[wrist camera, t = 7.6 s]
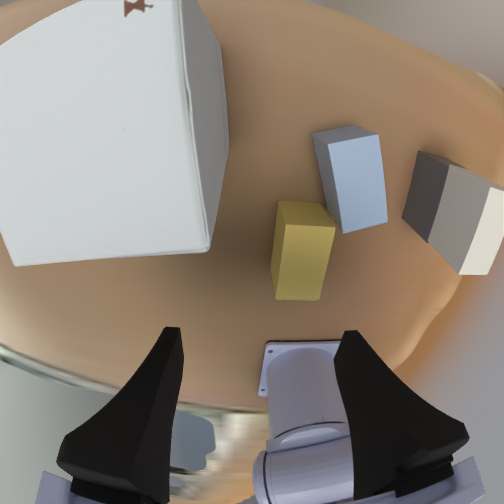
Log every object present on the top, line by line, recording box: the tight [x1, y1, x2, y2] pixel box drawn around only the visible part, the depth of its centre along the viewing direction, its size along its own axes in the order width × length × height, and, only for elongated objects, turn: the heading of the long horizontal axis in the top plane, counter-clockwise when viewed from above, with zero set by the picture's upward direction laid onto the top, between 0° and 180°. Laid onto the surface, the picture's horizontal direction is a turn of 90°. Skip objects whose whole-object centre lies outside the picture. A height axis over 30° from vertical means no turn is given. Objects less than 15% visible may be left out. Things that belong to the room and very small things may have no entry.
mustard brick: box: [271, 200, 336, 300], centre depth 20 cm, size 6×3×4 cm, turn 176°
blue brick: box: [311, 125, 388, 234], centre depth 17 cm, size 6×3×4 cm, turn 16°
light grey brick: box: [428, 164, 504, 275], centre depth 14 cm, size 6×3×4 cm, turn 176°
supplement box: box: [0, 0, 230, 266], centre depth 11 cm, size 7×7×13 cm
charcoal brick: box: [402, 151, 468, 243], centre depth 18 cm, size 6×3×4 cm, turn 176°
